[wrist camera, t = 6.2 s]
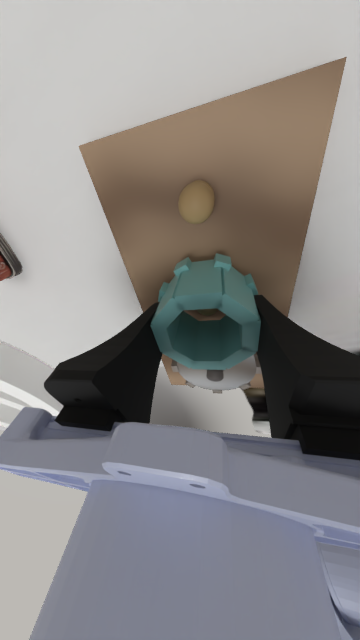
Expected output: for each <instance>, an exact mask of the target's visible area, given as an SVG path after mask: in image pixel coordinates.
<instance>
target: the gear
mask: <svg viewBox="0 0 360 640" xmlns="http://www.w3.org/2000/svg"><path fill="white" fill-rule="evenodd" d="M231 265H232V264H231V258H230V257H229V256H225V255H221V254H218V253H216V254H215V257H214V259H213V260H205V261H197V262H191V260H190V259H189V257H187V258H185V259H184V260H182V261H180V262H179V263H177V264H176V266H175V269H174V271H173V272H174V273H175V276H174V278H173V279H172V280H171V282H170V283H165V282H163V284H162V287H161V289H160V291H159V298H158V302H160V303H159V305H158V308H157V310H156V312H155V315H154V317H153V319H152V322H151V325H150V326H151V328H152V331H153V334H154V336H155V339H156V342H157V344H158V347H159V349H160V352H162V354H164V355H166V356H168V357H169V358H171V359H173V360H175V361H177V362H179V363H180V364H182V365H184V366H186V367H188V368H189V369H190V368H192V369H207V370H226V368H227V369H230V368H231V367H233V366H235V365H237V364H238V363H240V362H242V361H243V360H245V359H247V358H249V357H250V356H252V355H254V354H256V351H258V343H259V335H260V326H261V319H260V316H259V313H258V310H257V307H256V304H255V300H254V295H258V291H257V288H256V285H255V282H254V280H253V278H252V276H251V273H250V274H248V275H245V276H243V275H242V274H241V273H240V272H238V271H237V270H236V269H235V268H233V267H232V266H231ZM214 308H217V309H219V310H220V311H222V312H223V313H224V314H226V315H225V316H224V317H223V318H222V319H221V320H208V321H198V320H197V319H195V318H194V317H192V316H191V315H189V314H188V313H186V312H184V311H183V310H197V309H214Z"/></svg>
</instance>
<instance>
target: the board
mask: <svg viewBox="0 0 360 640" xmlns="http://www.w3.org/2000/svg"><path fill="white" fill-rule="evenodd" d="M345 62H346V57H345V58H342V59H339V60H336V61H332V62H329V63H326V64H323V65H320V66H317V67H314V68H311V69H308V70H305V71H302V72H299V73H296V74H293V75H290V76H287V77H284V78H281V79H278V80H275V81H272V82H269V83H266V84H263V85H260V86H257V87H254V88H251V89H248V90H245V91H242V92H239V93H236V94H233V95H230V96H227V97H224V98H221V99H218V100H215V101H212V102H209V103H206V104H203V105H200V106H197V107H194V108H191V109H188V110H185V111H182V112H179V113H176V114H173V115H170V116H167V117H164V118H161V119H158V120H155V121H152V122H149V123H146V124H143V125H140V126H137V127H134V128H131V129H128V130H125V131H122V132H119V133H116V134H113V135H110V136H107V137H104V138H101V139H98V140H95V141H92V142H89V143H86V144H83V145H80V146H79V148H80V151H81V154H82V156H83V159H84V161H85V164H86V166H87V169H88V172H89V174H90V177H91V179H92V182H93V184H94V187H95V190H96V192H97V195H98V197H99V200H100V202H101V205H102V207H103V210H104V213H105V215H106V218H107V220H108V223H109V225H110V228H111V231H112V233H113V236H114V238H115V241H116V243H117V246H118V249H119V251H120V254H121V256H122V259H123V261H124V264H125V266H126V269H127V272H128V274H129V277H130V279H131V282H132V284H133V287H134V290H135V292H136V295H137V297H138V300H139V302H140V305H141V308H142V310H143V313H144V312H145V311H146V310H147V309H148V308H149V307H150V306H151V305H153V304H154V303H156V302H158V298H159V291H160V289H161V287H162V284H163V282H165V283H170V282H171V280H172V279H173V278H174V276H175V273H174V272H173V271H174V269H175V266H176V264H177V263H179V262H180V261H182V260H184V259H185V258H187V257H189V259H190V260H191V262H197V261H205V260H213V259H214V257H215V254H216V253H218V254H221V255H225V256H229V257H230V258H231V264H232V265H231V266H232V267H233V268H235V269H236V270H237V271H238V272H240V273H241V274H242V275H243V276H245V275H248V274H250V273H251V276H252V278H253V280H254V282H255V285H256V288H257V291H258V295H263V296H264V297H265V298H266V299H267V300H268V301H269V302H270V303H271V304H272V305H273V306H274V307H275V308H277V309H278V310H279V311H280V312H281V313H282V314H284V315H285V316H286V317H288V313H289V308H290V304H291V299H292V295H293V291H294V286H295V282H296V277H297V273H298V269H299V264H300V260H301V255H302V251H303V247H304V242H305V238H306V233H307V229H308V225H309V220H310V216H311V211H312V207H313V203H314V198H315V194H316V189H317V185H318V181H319V176H320V172H321V167H322V163H323V158H324V154H325V150H326V145H327V141H328V136H329V132H330V128H331V123H332V119H333V114H334V110H335V106H336V101H337V97H338V92H339V88H340V84H341V79H342V75H343V70H344V66H345ZM183 311H184V312H186V313H188V314H189V315H191V316H192V317H194V318H195V319H197V320H198V321H208V320H221V319H222V318H223V317H224V316H225V315H226V314H224V313H223V312H222V311H220V310H219V309H217V308H214V309H197V310H183ZM161 359H162V361H163V364H164V367H165V369H166V372H167V374H168V377H169V379H170V382H171V384H172V385H188V386H190V387H192V388H193V387H194V386H198V387H201V388H204V389H209V390H213V393H222V390H231V389H236V388H241V389H243V390H245V389H247V388H264V383H263V377H262V371H261V367H260V363H259V360H258V356H257V353H256V354H254V355H252V356H250V357H249V358H247V359H245V360H243V361H242V362H240V363H238V364H237V365H235V366H233V367H231V368H230V369H227V368H226V370H207V369H192V368H190V369H189V368H188V367H186V366H184V365H182V364H180V363H179V362H177V361H175V360H173V359H171V358H169V357H168V356H166V355H164V354H162V357H161Z"/></svg>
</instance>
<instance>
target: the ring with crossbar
mask: <svg viewBox="0 0 360 640" xmlns="http://www.w3.org/2000/svg"><path fill="white" fill-rule="evenodd" d="M53 371H54V368H53V367H51V366H50V365H48V364H46V363H45V362H43V361H41V360H40V359H38V358H36V357H34V356H32V355H30V354H29V353H26V352H24V351H22V350H20V349H18V348H16V347H14V346H11V345H9V344H7V343H4V342H2V341H0V426H3V427H6V428H7V427H8V426H9V425H10V424H11V423H12V421H13V420H14V419H15V418H16V416H17V415H18V414H19V413H20V411H21V410H22V409H23V408H24V407H33V408H41V409H44V410H46V411H48V412H50V413H51V414H52V416H58V414H59V413H60V411H61V410H62V408H63V405H62V404H61V403H59V402H58V401H57V400H56V399H55V398H53V397H52V396H51V395H50V394H49V393H48V392H47V391H46V390H45V388H44V382H45V381H46V379H47V378H48V377H49V376H50V374H51V373H52V372H53Z"/></svg>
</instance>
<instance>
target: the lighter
mask: <svg viewBox="0 0 360 640" xmlns="http://www.w3.org/2000/svg"><path fill="white" fill-rule="evenodd" d="M21 272H22V266H21V263H20V262H19V260H18V258H17V257H16V255H15V254H14V252H13V251H12V249H11V247H10V246H9V244H8V243H7V242H6V240H5V239H4V237H3V236H2V235H1V233H0V281H2V280H4V279H10V278H12V277H14V276H16V275H18V274H20V273H21Z"/></svg>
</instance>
